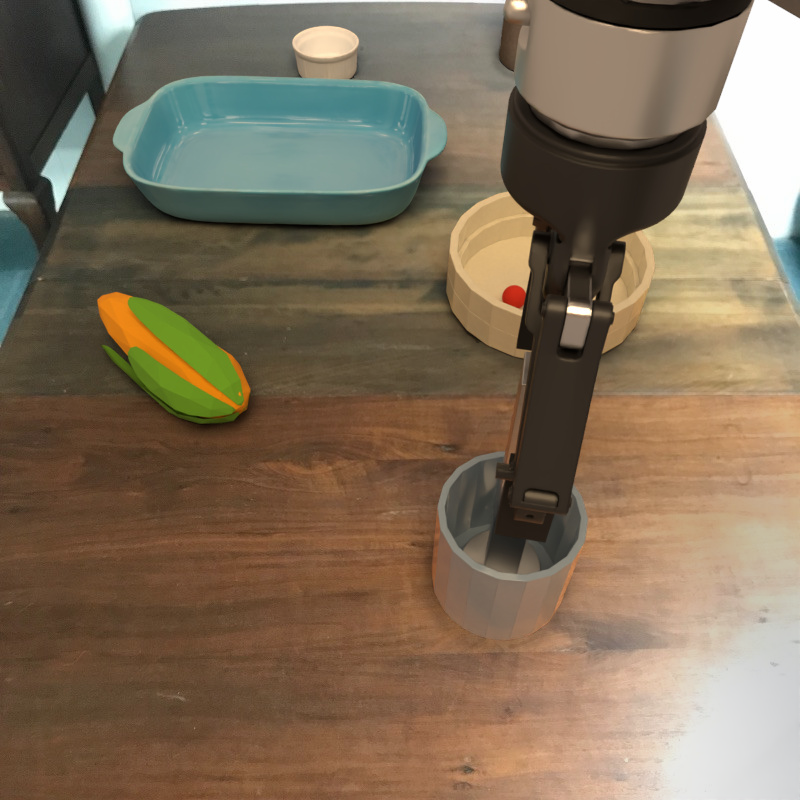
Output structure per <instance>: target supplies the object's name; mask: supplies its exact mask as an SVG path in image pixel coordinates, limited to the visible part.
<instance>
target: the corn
mask: <svg viewBox="0 0 800 800" xmlns="http://www.w3.org/2000/svg"><path fill="white" fill-rule="evenodd" d="M96 303H97V307H98V313H99V317H100V319H101V321H102V323H103V326H104V327H105V329H106V331H107V334H108V335H109V336H110V337H111V338H112V339H113V341H114V342H115V343H116V344H117V345H118V346H119V348H120V349H121V350H122V351H123V352H124V353H125V355H126V356H127V358H128V361H129V362H128V361H126V360H125V359H124V358H123V357H122V356H121V355H120V354H119V353H117V352H116V351H115V350H114V349H113V348H112V347H110V346H108V345H105V344H100V346H101V348H102V349H103V351H104V352H105V353H106V354H107V356H108V357H109V359H110V360H111V362H113V363H114V364H115V365H116V366H117V367H118V368H119V369H120V370H121V371H123V372H124V374H126V375H127V376H128V377H129V378H130V379H131V380H132V381H133V382H135V383H136V384H137V385H138V386H139V387H140V388H141V389H142V390H143V391H144V392H145V393H146V394H148V395H149V396H150V397H151V398H152V399H153V400H155V401H156V402H157V403H158V404H159V405H160V406H161V407H162V408H163V409H165V410H166V411H167V412H168V413H169V414H171V415H173V416H175V417H177V418H179V419H181V420H184V421H185V420H186V421H189V422H193V423H196V424H201V425H202V424H203V425H205V424H206V425H207V424H224V423H230V422H234V421H235V420H236V419H237V418H238V417H239V416H240V415H241V414H242V413H243V412H245V411H246V410H247V409H248V407H249V402H250V398H251V390H252V389H251V387H250V385H249V383H248V380H247V378H246V376H245V374H244V371H243V369H242V367H241V364H240V363H239V362H238V361H237V359H236V358H235V357H234V356H233V355H232V354H231V353H229V352H227V350H224V349H223V348H221V347H220V346H219V345H218V344H216V343H214V342H213V341H212V340H211V339H210V338H209V337H207V336H206V335H205V334H204V333H203V332H201V330H199V329H198V328H197V327H195V325H193V324H191V323H190V322H189V321H188V320H187V319H186V318H184V317H183V316H181V315H180V314H178V313H176V312H174V311H172V310H171V309H169V308H168V307H166V306H164V305H163V304H160V303H159V302H155V301H152V300H149V299H146V298H143V297H137V296H132V295H128V294H125V293H122V292H118V291H114V292H110V293H107V294H102V295H101V296H100V297H99V298H97V302H96Z"/></svg>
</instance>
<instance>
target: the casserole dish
mask: <svg viewBox="0 0 800 800" xmlns="http://www.w3.org/2000/svg"><path fill="white" fill-rule="evenodd" d="M447 142H448V127H447V124H446V121H445V120H444V118H443V117H442V116H441V115H439V114H438V113H437V112H436V111H434V110H433V109H431V108H430V107H429V103H428V101H427V99H426V98H425V97H424V96H423V94H421V92H419V91H418V90H416V89H414V88H412V87H410V86H407V85H403V84H400V83H395V82H391V81H384V80H383V81H382V80H371V79H352V78H350V79H323V78H302V77H291V76H290V77H288V76H260V75H201V76H192V77H186V78H182V79H178V80H174V81H172V82H168V83H167V84H165V85H163V86H162V87H160V88H159V89H157V90H156V91H155V92H154V93H153V94H152V95H151V96H150V97H149V98H148V99H147V100H146V101H144V102H142V103H140V104H139V105H137V106H135V107H133V108H131V109H130V110H129V111H128V112H126V113H125V114H124V115H123V117H122V118H121V119H120V121H119V123H118V124H117V125H116V128H115V131H114V132H113V137H112V144H113V146H114V148H115V149H116V150H117V151H118V152H120V153H121V154H122V165H123V166H122V167H123V169H124V171H125V173H126V175H127V176H128V177H129V179H131V181H132V182H133V184H135V186H136V187H137V189H138V190H139V192H141V194H143V196H144V197H145V198H146V200H148V201H149V202H150V203H151V205H153V206H154V207H155V208H156V209H158V210H159V211H161V212H163V213H165V214H167V215H170V216H172V217H175V218H179V219H183V220H189V221H198V222H206V223H207V222H210V223H230V224H231V223H233V224H263V225H264V224H265V225H307V226H309V225H312V226H313V225H315V226H316V225H317V226H359V225H361V226H363V225H371V224H378V223H382V222H385V221H389V220H391V219H393V218H395V217H397V216H398V215H400V214H402V213H403V212H404V211H405V210H406V209H407V208H408V207H409V205H410V204H411V202H412V201H413V200H414V197H415V195H416V193H417V190H418V188H419V185H420V183H421V180H422V177H423V174H424V171H425V169H426V166H427V164H429V162H431V161H433V160H434V159H436V158H437V157H439V156H440V155H441V154H442V153H443V152H444V150H445V149H446V146H447V144H448V143H447Z"/></svg>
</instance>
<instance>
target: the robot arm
mask: <svg viewBox="0 0 800 800" xmlns="http://www.w3.org/2000/svg"><path fill="white" fill-rule="evenodd" d="M767 1H768V2H770V3H772V4H774V5H776V6H777V7H779V8H781V9H782V10H784V11H786V12H788V13H789V14H790V15H792V16H794V17H796V18H798V19H800V0H767ZM754 3H755V0H505V1H504V5H503V9H502V16H503V17H504V18H505V19H506V20H507V22H508V23H512V24H518V25H522V27H521V30H520V34H519V38H518V45H517V53H516V60H515V68H514V71H513V78H514V87H513V88H512V90H511V92H510V94H509V97H508V102H507V109H506V110H507V111H506V119H505V124H504V125H505V126H504V133H503V139H502V147H501V148H502V149H501V156H500V165H499V167H500V175H501V180H502V183H503V185H504V187H505V189H506V192H509V194H510V195H511V197H512V198H513V199H514V200H515V201H516V203H517V204H519V205H520V206H521V207H522V208H523V209H524V210H525V211H527V212H528V213H530V214H531V215H532V216H533V223H532V225H533V226H535V230H533V235H532V240H531V247H530V253H529V260H528V265H529V268H530V275H529V280H528V285H527V291H526V296H525V301H524V306H523V312H522V317H521V322H520V327H519V333H518V338H517V345H516V349H522V350H530V351H531V356H530V363H529V369H528V375H527V381H526V388H525V394H524V400H523V407H522V413H521V419H520V425H519V432H518V438H517V444H516V451H515V453H511V454H510V459H509V463H508V464H506V463H500V462H497V466H496V474H495V478H496V479H502V480H505V482H504V487H503V491H502V496H501V501H500V505H499V510H498V515H497V519H496V525H495V535H501V536H508V537H514V538H520V539H526V540H532V541H538V542H544V543H545V542H546V539H547V536H548V533H549V530H550V527H551V524H552V521H553V518H554V515H555V514H558V515H564V516H566V515H567V514H568V511H569V508H571V504H572V497H571V493H572V489H573V484H574V483H575V480H576V474H577V469H578V465H579V460H580V455H581V452H582V451H581V450H582V447H583V442H584V437H585V432H586V427H587V423H588V418H589V414H590V409H591V404H592V400H593V395H594V390H595V386H596V380H597V376H598V372H599V367H600V362H601V359H602V355H603V354H602V352H603V348H604V345H605V341H606V338H607V334H608V331H609V327H610V325H613V322H614V317H615V312H613V308H614V306H613V304H612V302H611V296H612V290H613V286H614V283H615V282H616V281H617V280H618V279H619V278H620V276H621V274H622V269H623V263H624V257H625V251H626V242H625V241H617V240H618V239H620V238H622V237H624V236H626V235H629V234H632V233H634V232H637V231H641V230H642V231H643V230H646V229H649V228H651V227H654V226H656V225H657V224H659V223H661V222H663V221H664V220H665V219H667V218H668V217H669V216H670V215H671V214H673V212H675V210H676V209H677V208H678V207H679V205H680V203H681V202H682V200H683V199H684V196H685V193H686V190H687V187H688V185H689V181H690V179H691V176H692V173H693V170H694V168H695V165H696V162H697V159H698V157H699V154H700V151H701V148H702V145H703V143H704V140H705V137H706V133H707V130H708V120H707V119H708V118H709V117H710V116H711V115H712V114H713V113H714V112H715V111H716V110H717V108H718V105H719V102H720V99H721V96H722V93H723V90H724V88H725V85H726V83H727V79H728V77H729V75H730V74H729V73H730V71H731V68H732V65H733V62H734V60H735V57H736V54H737V52H738V48H739V46H740V43H741V40H742V38H743V37H742V36H743V35H744V31H745V29H746V25H747V24H748V20H749V17H750V14H751V11H752V9H753V7H754ZM595 296H596V299H595V300H593V298H594V297H595ZM574 485H575V484H574Z"/></svg>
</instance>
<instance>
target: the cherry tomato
mask: <svg viewBox="0 0 800 800" xmlns="http://www.w3.org/2000/svg"><path fill="white" fill-rule="evenodd" d="M525 296H526V292H525V290H524V289H523V288H522V287H520V286H518V285H511V286H509V287H507V288H506V289H505V290H504V292H503V294H502V301H503V303H506V304H508V305H511V306H513V307H516V308H518V309H519V308H521V307H522V306H523V305H524V301H525Z"/></svg>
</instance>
